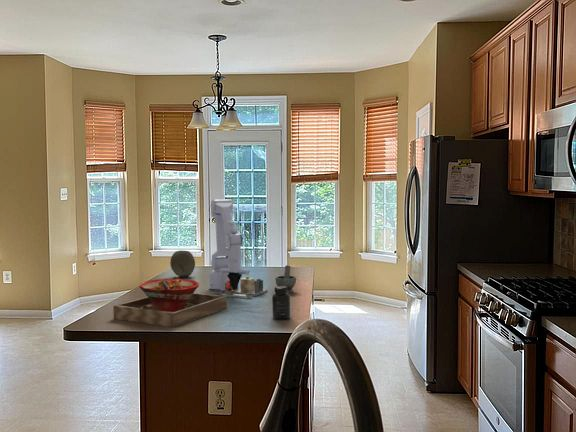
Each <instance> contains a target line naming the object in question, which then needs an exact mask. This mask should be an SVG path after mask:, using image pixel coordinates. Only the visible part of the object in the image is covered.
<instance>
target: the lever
mask: <svg viewBox="0 0 576 432" xmlns="http://www.w3.org/2000/svg"><path fill="white" fill-rule="evenodd" d="M225 294H234V290H232V285H231V282H230V280H227V290H225Z"/></svg>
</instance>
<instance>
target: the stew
mask: <svg viewBox="0 0 576 432" xmlns="http://www.w3.org/2000/svg"><path fill="white" fill-rule="evenodd" d="M199 286H200V283H199V281H197V280H193V279H190V278H189V279H183V278H164V277H163V278H159V279H150V280H147V281H144V282H141V283H140V284H139V288H140V290H141V291H143V293H144V294H145V296H146V297H149V298H150V299H151V301H152V303H150V304H146V305H143V306H142V307H139V308H142V309H150V310H158V311H166V312H176V311H179V310H182V309H185V308H188V307H187V306H190V307H192V306H195V305H192V304H189V303H186V302H187V301H188V300H189V299H190V297H191V296H192V294H193V293H195V291H196V290H197V289H198V288H199ZM188 304H189V305H188Z"/></svg>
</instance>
